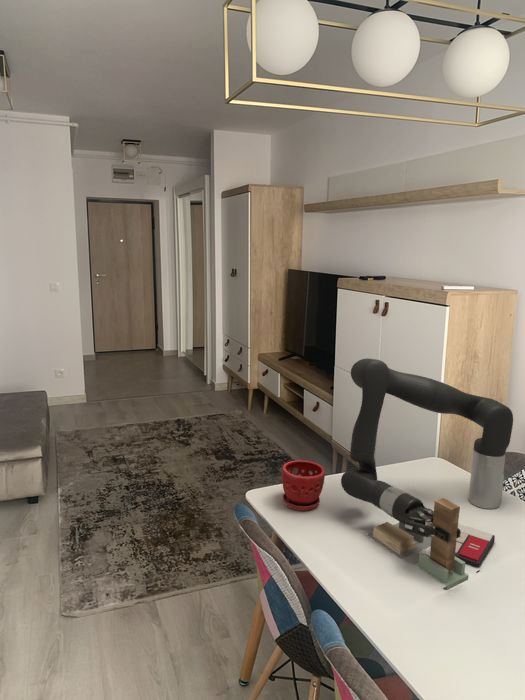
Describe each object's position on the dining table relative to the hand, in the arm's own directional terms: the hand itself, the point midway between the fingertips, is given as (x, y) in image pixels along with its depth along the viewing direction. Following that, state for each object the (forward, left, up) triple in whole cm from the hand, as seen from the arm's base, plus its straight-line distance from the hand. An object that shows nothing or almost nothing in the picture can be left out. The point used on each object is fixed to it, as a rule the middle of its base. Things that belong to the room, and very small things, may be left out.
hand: (454, 536), depth 130 cm
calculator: (-14, -6, -12) cm, 20 cm away
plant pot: (+8, -50, -12) cm, 52 cm away
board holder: (0, -3, -12) cm, 12 cm away
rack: (-3, -18, -12) cm, 22 cm away
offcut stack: (+1, -18, -11) cm, 21 cm away
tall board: (0, -3, -10) cm, 10 cm away
